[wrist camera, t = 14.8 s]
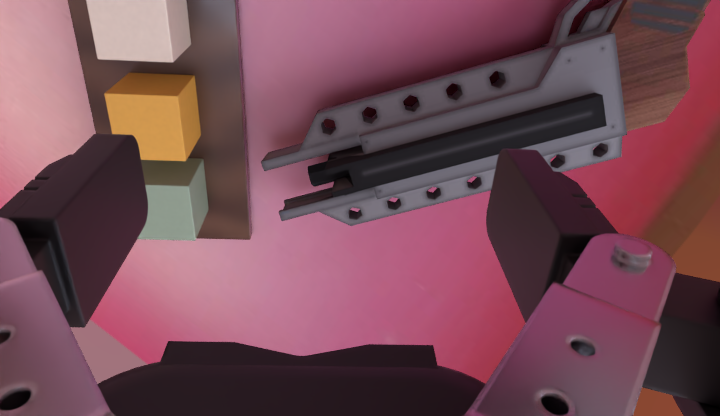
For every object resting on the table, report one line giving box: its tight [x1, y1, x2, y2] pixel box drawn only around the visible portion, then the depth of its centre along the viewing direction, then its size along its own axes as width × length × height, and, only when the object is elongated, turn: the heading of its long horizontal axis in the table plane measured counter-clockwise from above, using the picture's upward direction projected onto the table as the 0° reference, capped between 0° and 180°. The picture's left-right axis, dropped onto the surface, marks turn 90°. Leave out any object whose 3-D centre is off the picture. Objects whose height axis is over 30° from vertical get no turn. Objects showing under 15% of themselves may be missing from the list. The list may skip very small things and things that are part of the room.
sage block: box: [137, 158, 209, 241], centre depth 40 cm, size 5×5×5 cm
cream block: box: [86, 0, 191, 62], centre depth 34 cm, size 5×5×5 cm
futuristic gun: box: [261, 0, 710, 226], centre depth 37 cm, size 7×34×15 cm
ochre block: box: [104, 73, 201, 161], centre depth 37 cm, size 5×5×5 cm
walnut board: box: [68, 0, 252, 240], centre depth 38 cm, size 30×11×1 cm, turn 177°
